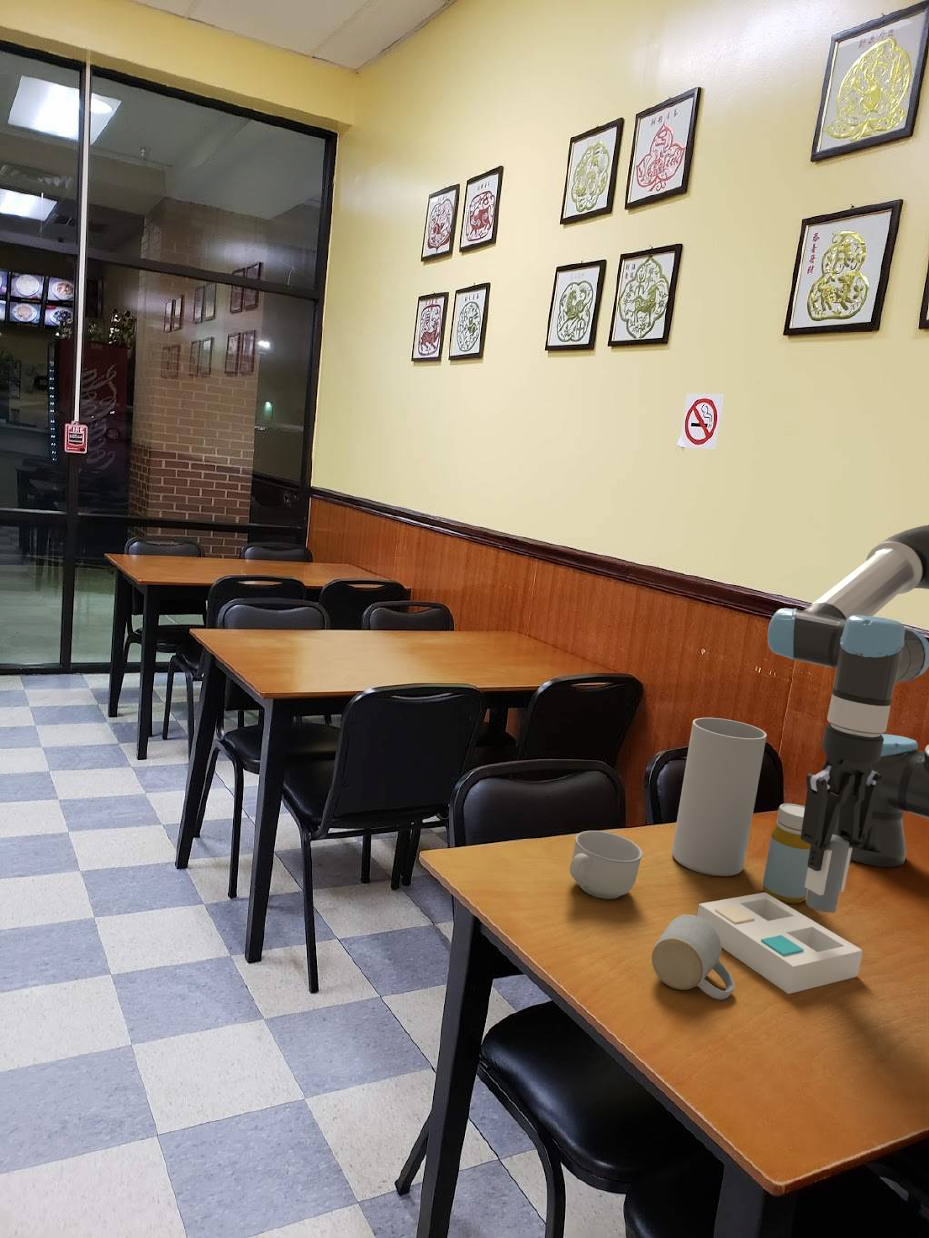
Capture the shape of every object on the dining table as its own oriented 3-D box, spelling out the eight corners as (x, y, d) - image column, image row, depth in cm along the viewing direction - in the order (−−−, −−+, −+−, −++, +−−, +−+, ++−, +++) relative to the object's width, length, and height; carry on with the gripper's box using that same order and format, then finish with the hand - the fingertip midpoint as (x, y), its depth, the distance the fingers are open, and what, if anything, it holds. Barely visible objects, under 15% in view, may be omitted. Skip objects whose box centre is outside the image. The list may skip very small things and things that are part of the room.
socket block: (761, 915, 144) (765, 890, 143) (857, 976, 128) (863, 948, 127) (694, 928, 137) (699, 901, 136) (788, 994, 121) (793, 964, 121)
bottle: (808, 908, 148) (824, 821, 146) (764, 900, 150) (779, 813, 147) (801, 890, 155) (817, 807, 153) (759, 882, 156) (774, 799, 154)
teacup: (604, 871, 154) (610, 826, 152) (649, 899, 145) (657, 852, 143) (539, 884, 146) (546, 837, 144) (583, 915, 137) (591, 865, 136)
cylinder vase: (657, 851, 165) (678, 718, 161) (709, 845, 171) (730, 716, 167) (704, 881, 154) (727, 740, 150) (758, 874, 160) (782, 737, 156)
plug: (819, 897, 131) (831, 832, 129) (841, 910, 127) (855, 843, 126) (799, 900, 129) (812, 834, 127) (822, 914, 125) (835, 845, 124)
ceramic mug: (644, 980, 120) (653, 927, 119) (663, 956, 127) (672, 905, 126) (723, 1013, 115) (734, 957, 114) (738, 985, 122) (749, 933, 121)
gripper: (870, 719, 131) (841, 871, 135) (791, 722, 123) (762, 883, 127) (917, 735, 125) (885, 894, 129) (837, 739, 117) (804, 908, 121)
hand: (824, 888), depth 128 cm, fingers closed on plug, 3 cm apart
